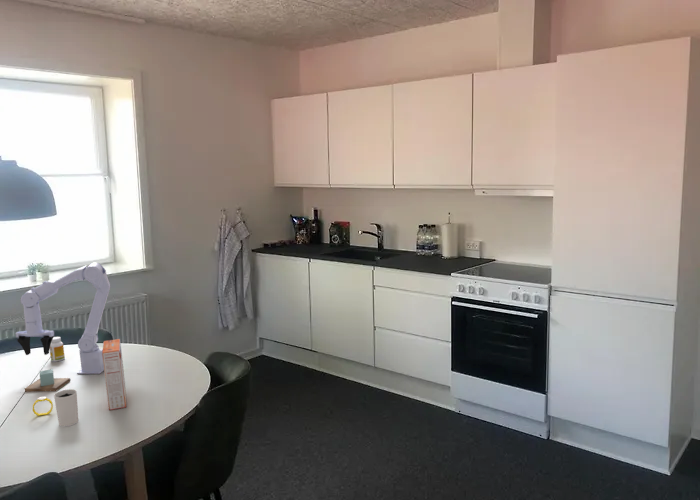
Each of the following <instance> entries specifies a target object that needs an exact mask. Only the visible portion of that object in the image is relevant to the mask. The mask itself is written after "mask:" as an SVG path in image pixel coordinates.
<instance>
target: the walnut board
mask: <svg viewBox="0 0 700 500" xmlns="http://www.w3.org/2000/svg"><path fill="white" fill-rule="evenodd" d="M70 381H71V378H70V377H60V378H59V377H54V384H51V385H46V386H41V382H40V378H39V379H37V380H36V381H34V382H33V383H31V384H29V385H27V386H26V387H25V388H24V392H26V393H27V392H28V393H29V392H30V393H31V392H36V393H37V392H58V390H60V389H61V388H63V387H64V386H66V385H67V384H68V383H70Z"/></svg>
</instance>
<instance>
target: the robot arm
mask: <svg viewBox="0 0 700 500" xmlns="http://www.w3.org/2000/svg"><path fill="white" fill-rule="evenodd" d="M84 280H86V281H88V282H89V283H90V284H92V286H93V288H95V289H96V291H95V295H94V298H93V302H92V305H91V308H90V311H89V312H90V313H89V316H88V319H87V322H86V326H85V328H84V331H83V333H82V335H81V338H79V340H78V342H77V348H78V349H79V351H78V352H79V358H80V367H81V368H80V370H79V371H78V372H77V374H78V375H82V374H83V375H86V374H87V375H88V374H89V375H94V374H95V375H96V374H101V373H103V372H104V365H103V356H102V351H103V348H100V347H99V345H98V344H97V342H98V341H99V336H98V331H99V327H100V324H101V321H102V317H103V312H104V310H105V307H106V303H107V299H108V296H109V293H110V289H111V283H110V281H109V278H108V275H107V270H106V269H105V268H104V266H103V265H102V264H101V263H99V262H96V261H95V262H90V264H88V265H87V264H86V265H84V266H81V267H79V268H76V269H74V270H73V271H71V272H69V273H68V274H66V275H64V276H62V277H60V278H58V279H56V280H44V281H42V283H41V284H39V285H38V286H36V287H31V288H30V290H27V291H25V293H24V294H22V295H21V297H20V303H21V305H22V307H23V317H24V323H25V330H23V331H16V332H15V338H17V339H16V340H17V343H18V344H20V346H21V348H22V349H23V352H24V354H25V356H29V355H31V338H33V337H34V338H35V337H37V338H38V337H39V338H40V342H41V344H42V349H43V354H44V356H47V355H50V344H51V341H52V339H53V337H55V330H48V329H44V328H43V321H42V312H41V308H40V302H43V301H44V300H46V299H49V298H50V297H53V296H54V295H55V294H56V295H57V294H58V292H59V289H60V288H63V287H64V286H66V285H69V284H71V283H73V282H75V281H84Z"/></svg>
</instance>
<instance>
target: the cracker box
mask: <svg viewBox="0 0 700 500" xmlns="http://www.w3.org/2000/svg"><path fill="white" fill-rule="evenodd" d="M102 344H103V345H102V349H103V351H102V356H103V365H104V371H103V372H104V381H105V387H106V388H105V389H106V397H107V403H108V411H113V410H118V409H123V408H126V407H127V389H126V387H127V386H126V377H125V370H124V361H123V353H122V344H121V338H117V339H116V338H115V339H109V340H104V341H103V343H102Z"/></svg>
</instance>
